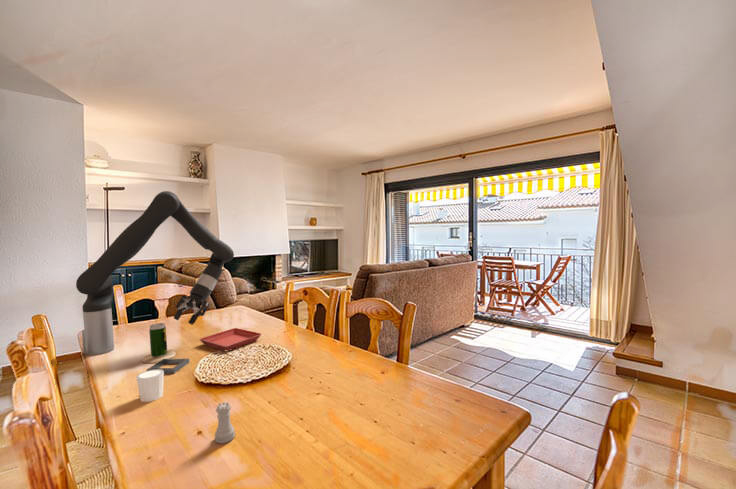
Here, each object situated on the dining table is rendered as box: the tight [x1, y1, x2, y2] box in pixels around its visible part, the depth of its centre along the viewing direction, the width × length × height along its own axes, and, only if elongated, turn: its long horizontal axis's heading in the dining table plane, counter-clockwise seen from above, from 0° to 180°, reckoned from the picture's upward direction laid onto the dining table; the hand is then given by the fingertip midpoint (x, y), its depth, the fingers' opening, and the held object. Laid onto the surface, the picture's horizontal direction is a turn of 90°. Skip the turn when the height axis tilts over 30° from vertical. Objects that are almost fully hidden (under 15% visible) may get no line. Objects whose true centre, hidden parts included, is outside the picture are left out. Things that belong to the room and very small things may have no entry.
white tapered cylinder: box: [135, 369, 165, 403], centre depth 102 cm, size 7×7×7 cm
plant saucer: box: [199, 327, 262, 351], centre depth 149 cm, size 18×18×3 cm
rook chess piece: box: [214, 401, 236, 444], centre depth 81 cm, size 4×4×8 cm
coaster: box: [141, 350, 177, 364], centre depth 134 cm, size 11×11×1 cm
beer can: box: [148, 322, 168, 358], centre depth 134 cm, size 5×5×12 cm
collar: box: [146, 358, 190, 375], centre depth 124 cm, size 10×10×2 cm
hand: (182, 321), depth 145 cm, fingers open, 8 cm apart
